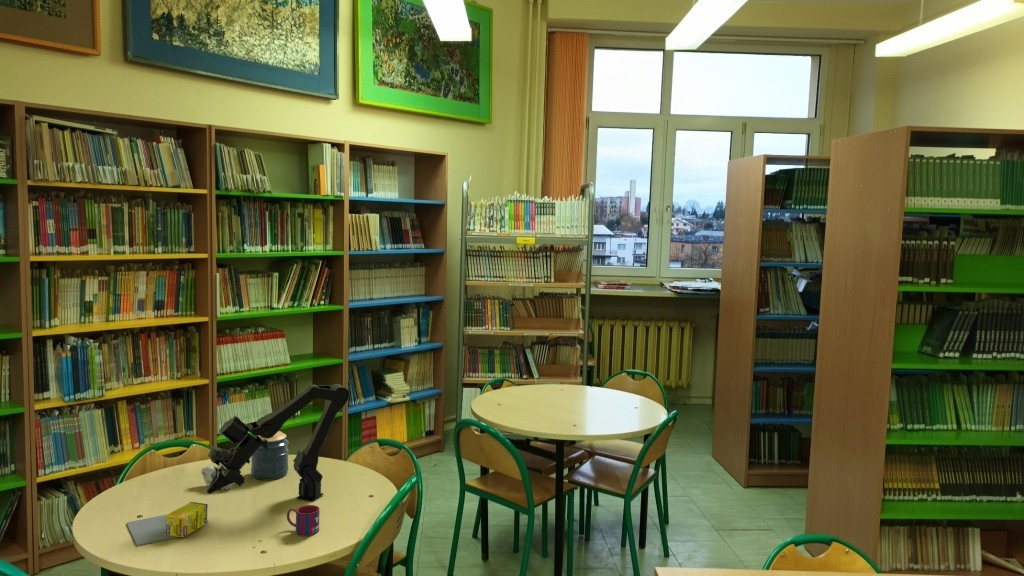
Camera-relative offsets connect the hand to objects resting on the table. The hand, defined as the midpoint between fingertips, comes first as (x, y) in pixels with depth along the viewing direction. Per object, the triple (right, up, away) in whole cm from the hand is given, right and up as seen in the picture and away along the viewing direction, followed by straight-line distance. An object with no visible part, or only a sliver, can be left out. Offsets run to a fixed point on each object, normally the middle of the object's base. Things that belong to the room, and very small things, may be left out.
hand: (207, 492), depth 209 cm
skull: (-7, -6, +25) cm, 26 cm away
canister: (+5, -5, +39) cm, 39 cm away
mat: (-10, -8, -10) cm, 16 cm away
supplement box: (0, -4, -4) cm, 6 cm away
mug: (+32, -9, -7) cm, 34 cm away
